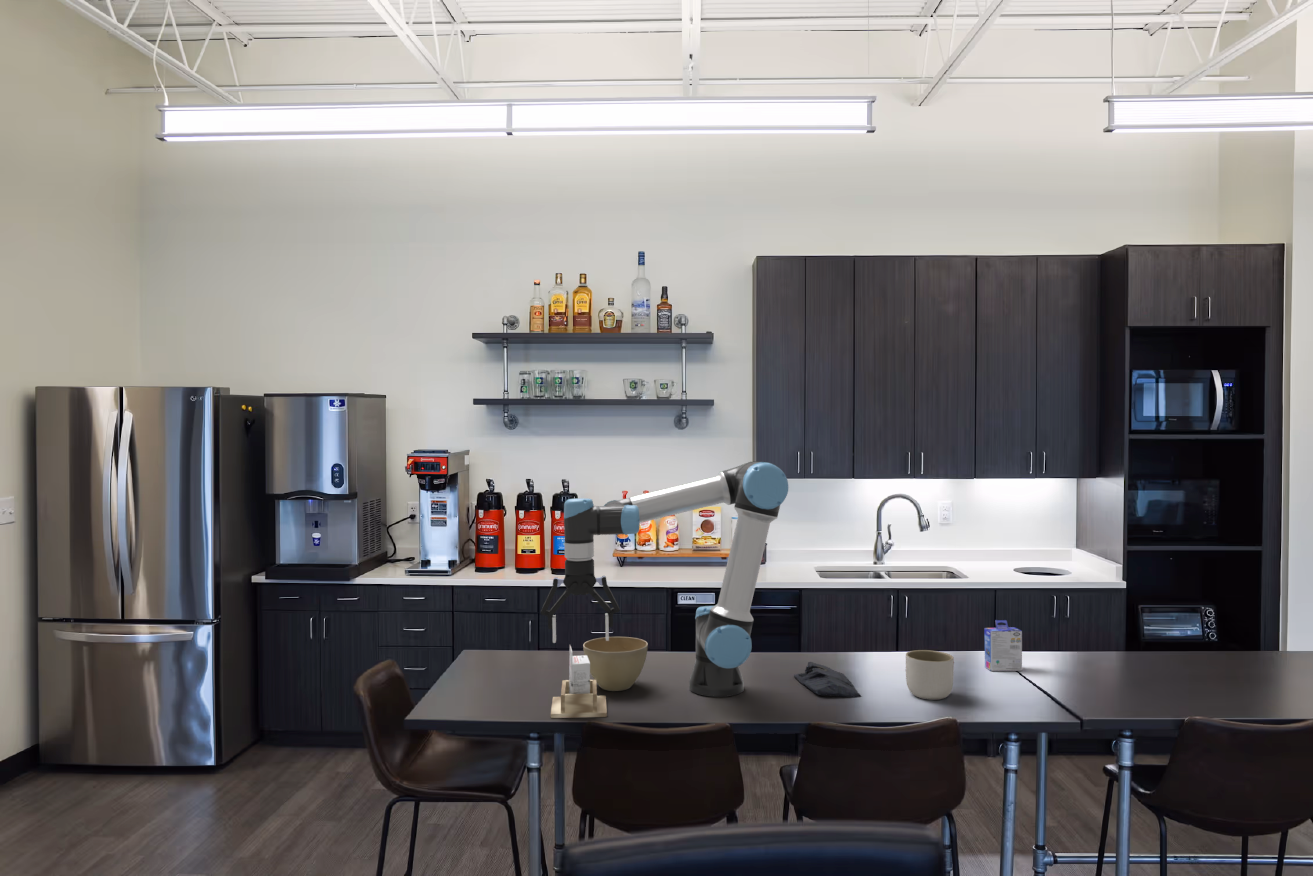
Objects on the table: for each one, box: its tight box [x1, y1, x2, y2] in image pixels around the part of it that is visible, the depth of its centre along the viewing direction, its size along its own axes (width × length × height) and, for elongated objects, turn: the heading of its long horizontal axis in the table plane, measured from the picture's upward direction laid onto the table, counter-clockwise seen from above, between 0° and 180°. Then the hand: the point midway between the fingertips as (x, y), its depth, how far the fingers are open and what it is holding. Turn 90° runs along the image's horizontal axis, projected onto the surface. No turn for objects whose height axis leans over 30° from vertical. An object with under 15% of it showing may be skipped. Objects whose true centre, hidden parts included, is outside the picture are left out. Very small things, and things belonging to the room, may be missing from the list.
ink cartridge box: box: [983, 619, 1023, 672], centre depth 258 cm, size 10×6×14 cm, turn 92°
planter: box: [905, 649, 955, 701], centre depth 232 cm, size 12×12×11 cm
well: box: [550, 679, 608, 719], centre depth 220 cm, size 14×14×6 cm
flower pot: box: [582, 636, 649, 692], centre depth 239 cm, size 18×18×12 cm
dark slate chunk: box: [793, 661, 862, 698], centre depth 240 cm, size 15×22×5 cm
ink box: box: [568, 645, 591, 694], centre depth 220 cm, size 8×5×15 cm, turn 11°
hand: (580, 640), depth 220 cm, fingers open, 13 cm apart
